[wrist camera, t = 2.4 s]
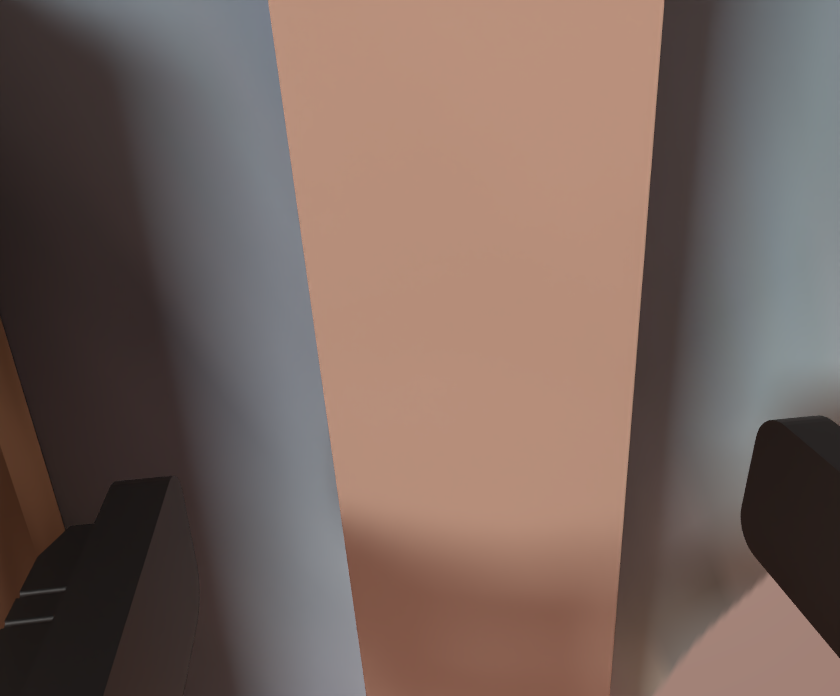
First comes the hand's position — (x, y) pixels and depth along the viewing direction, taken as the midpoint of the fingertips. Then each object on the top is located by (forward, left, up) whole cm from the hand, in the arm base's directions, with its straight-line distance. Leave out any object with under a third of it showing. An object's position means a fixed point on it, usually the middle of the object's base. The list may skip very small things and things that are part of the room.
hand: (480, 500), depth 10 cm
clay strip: (0, 0, -4) cm, 4 cm away
